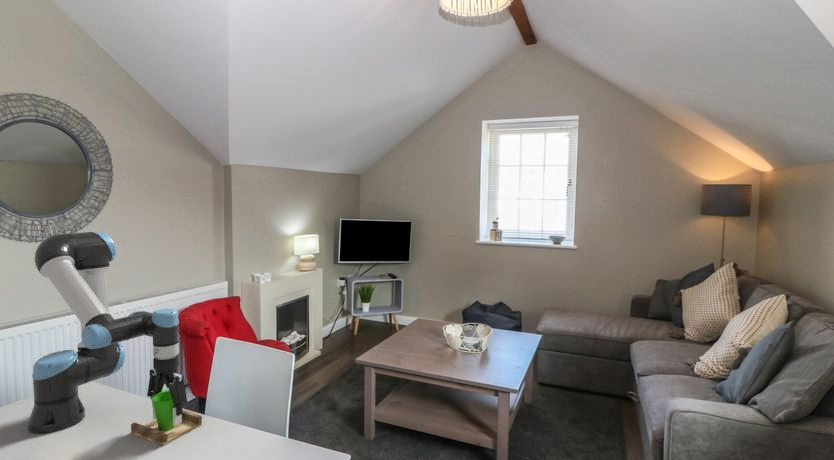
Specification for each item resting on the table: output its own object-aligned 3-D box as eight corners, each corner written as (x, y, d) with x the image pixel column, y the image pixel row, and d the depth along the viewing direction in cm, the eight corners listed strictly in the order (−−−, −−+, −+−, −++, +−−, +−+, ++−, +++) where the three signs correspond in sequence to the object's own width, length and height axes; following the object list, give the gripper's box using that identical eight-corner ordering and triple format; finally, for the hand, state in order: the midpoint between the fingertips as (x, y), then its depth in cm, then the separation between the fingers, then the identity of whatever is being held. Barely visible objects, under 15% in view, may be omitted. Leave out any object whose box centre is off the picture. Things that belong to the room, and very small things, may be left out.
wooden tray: (131, 433, 145) (130, 424, 144) (169, 414, 158) (169, 405, 157) (164, 445, 138) (163, 435, 138) (201, 425, 151) (201, 416, 151)
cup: (168, 435, 142) (167, 403, 142) (145, 431, 144) (144, 399, 144) (188, 422, 151) (188, 391, 150) (166, 418, 153) (165, 388, 152)
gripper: (133, 353, 147) (135, 418, 149) (178, 365, 138) (179, 433, 140) (154, 347, 154) (156, 408, 155) (199, 357, 145) (199, 422, 147)
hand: (167, 420), depth 148 cm, fingers closed on cup, 9 cm apart
